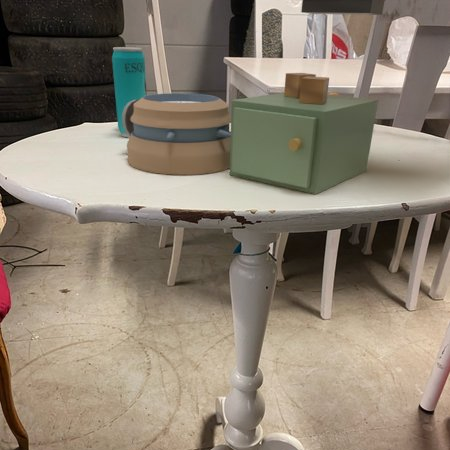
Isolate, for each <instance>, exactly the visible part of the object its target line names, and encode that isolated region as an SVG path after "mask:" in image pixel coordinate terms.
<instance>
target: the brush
mask: <svg viewBox="0 0 450 450" xmlns="http://www.w3.org/2000/svg"><path fill="white" fill-rule="evenodd" d="M385 3H386V0H302V1H301V11H300V12H301V13H303V14H312V15H353V16H354V15H355V16H356V15H358V16H359V15H361V16H362V15H363V16H365V15H366V16H373V15H374V16H383V13H384V7H385Z"/></svg>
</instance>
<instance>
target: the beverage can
mask: <svg viewBox="0 0 450 450" xmlns="http://www.w3.org/2000/svg"><path fill="white" fill-rule="evenodd" d="M112 50H113V53H112V55H111V62H112V73H113V85H114V97H115V108H116V109H115V110H116V119H117V129H118V130H119V133H120V135H121V136H122V137H123V138H128V139H129V138H130V137H131V136H129V135H128V134H127V133H126V132H125V130H124V128H123V125H122V112H123V109H124V107H125V106H126V105H127V103H128V102H130V101H132V100H140V99H141V98H142V97H144V96H147V95H148V93H147V77H146V76H147V75H146V61H145V60H146V59H145V58H146V57H145V56H144V54H143V48H142V47H132V46H131V47H130V46H129V47H128V46H115V47H114V46H113V47H112Z"/></svg>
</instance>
